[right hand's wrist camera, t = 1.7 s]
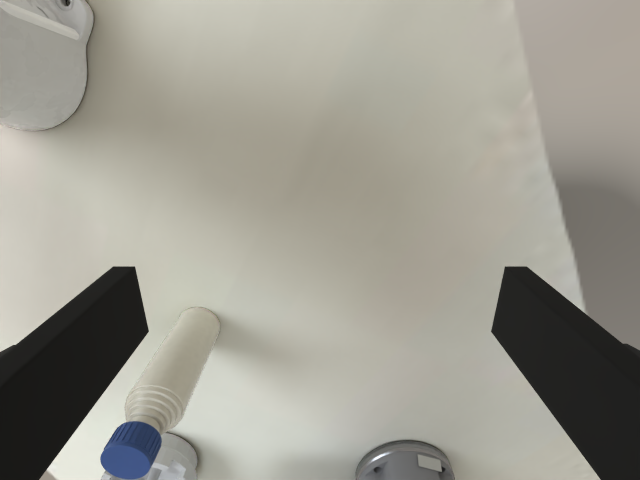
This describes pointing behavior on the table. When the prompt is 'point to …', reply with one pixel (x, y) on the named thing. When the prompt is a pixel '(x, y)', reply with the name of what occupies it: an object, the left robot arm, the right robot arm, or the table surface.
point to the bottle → (173, 371)
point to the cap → (131, 450)
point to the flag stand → (169, 461)
